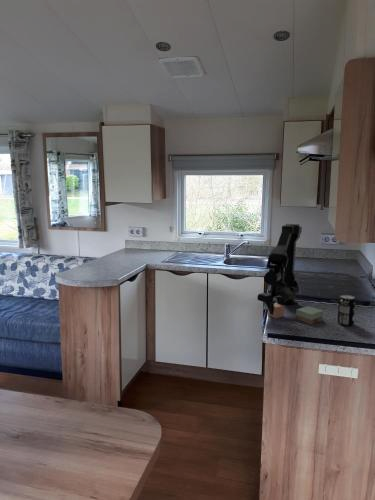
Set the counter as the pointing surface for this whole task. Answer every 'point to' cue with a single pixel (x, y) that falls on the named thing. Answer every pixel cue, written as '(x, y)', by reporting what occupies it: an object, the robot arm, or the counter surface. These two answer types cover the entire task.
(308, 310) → the sage slab
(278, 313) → the tan cube
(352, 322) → the beverage can
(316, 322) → the walnut slab
